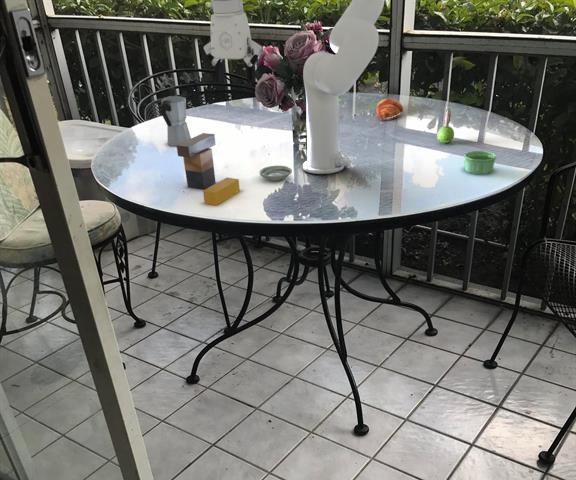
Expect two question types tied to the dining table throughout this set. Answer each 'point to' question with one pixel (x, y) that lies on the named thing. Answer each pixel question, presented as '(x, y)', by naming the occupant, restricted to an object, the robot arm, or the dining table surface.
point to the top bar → (221, 191)
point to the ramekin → (479, 162)
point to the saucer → (275, 172)
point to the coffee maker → (175, 118)
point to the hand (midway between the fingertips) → (236, 81)
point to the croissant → (388, 108)
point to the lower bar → (195, 145)
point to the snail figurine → (446, 129)
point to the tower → (200, 170)
